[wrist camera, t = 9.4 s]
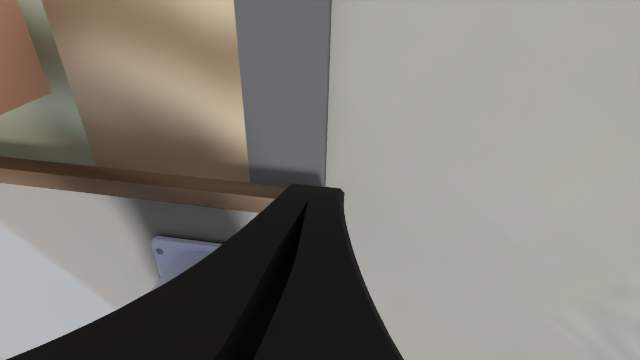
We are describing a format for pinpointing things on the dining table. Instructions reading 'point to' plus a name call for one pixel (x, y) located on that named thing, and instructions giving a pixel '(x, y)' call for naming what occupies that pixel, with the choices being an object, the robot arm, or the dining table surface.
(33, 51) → the block
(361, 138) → the dining table surface
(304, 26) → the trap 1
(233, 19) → the dark brown flat frame
